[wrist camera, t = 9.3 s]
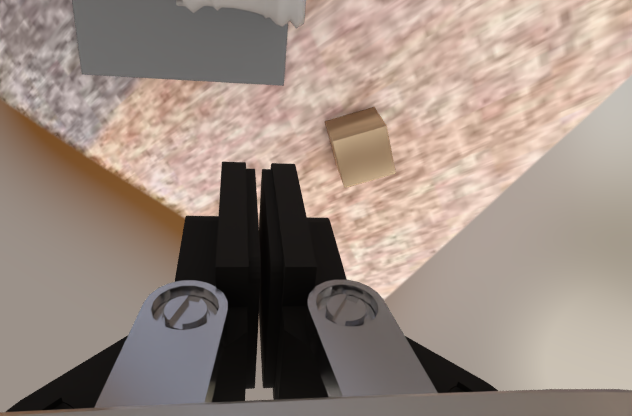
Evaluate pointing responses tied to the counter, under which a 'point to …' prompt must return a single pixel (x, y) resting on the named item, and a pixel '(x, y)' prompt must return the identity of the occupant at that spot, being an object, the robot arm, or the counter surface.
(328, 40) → the counter surface
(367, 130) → the oak block
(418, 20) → the counter surface
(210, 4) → the rook chess piece
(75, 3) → the mat
